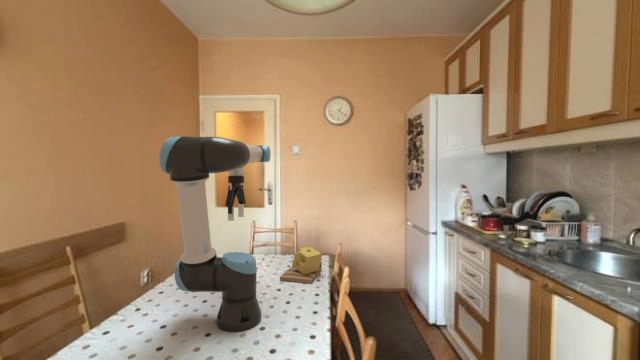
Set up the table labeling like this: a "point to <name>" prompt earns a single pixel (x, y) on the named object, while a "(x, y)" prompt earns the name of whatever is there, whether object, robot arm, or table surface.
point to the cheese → (307, 260)
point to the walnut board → (299, 275)
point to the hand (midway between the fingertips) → (236, 218)
